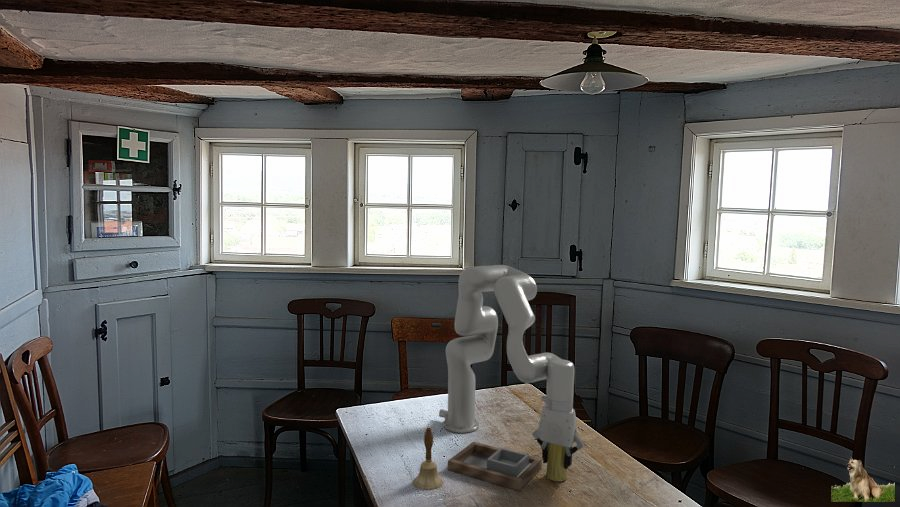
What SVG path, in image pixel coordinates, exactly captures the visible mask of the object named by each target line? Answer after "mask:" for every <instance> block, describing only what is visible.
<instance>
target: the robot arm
mask: <svg viewBox="0 0 900 507" xmlns="http://www.w3.org/2000/svg"><path fill="white" fill-rule="evenodd" d="M457 282H458V283H457V284H458V298H457V303H456V310H455V316H454V331H455V332H456V334H457V335H459V336H461V337H455V338H453V339H452V340H450V341H449V342H448V343H447V345H446V347H445V357H446V363H447V371H448V372H447V373H448V374H447V376H448V378H447V386H448V387H447V409H441V408H440V410H439V413H438V417H440V418H444V421H443V422H442V425H443V428H444V429H446V430H447V431H449V432H452V433H460V434H464V433H471V432H474V431H476V430H478V429H479V427H480V422H479V421H478V419H475V418H476V414H475V413H476V375H475V372H474V371H473V369H472V367H471V365H473V364H476V363H477V364H478V363H480V362H485V361H489V360H490V359H491V357H492V356H493V355H494V350H495V346H496V339H497V333H498V329H499V318H498V314H497V312H496V311H495V309H493V308H492V307H491V306H488V305H487V306H486V305H484V304H483V303H484V296H483V293H484V292H485V293H486V292H493V293H494V295H495V298H496V301H497V303H498V305H499V307H500V310H501V312H502V313H503V316H504V319H505V321H506V323H507V325H508V334H507V338H506V355H507V359H508V361H509V364H510V365H511V367H512V368H511V369H512V371H513V373H514V374H515V376H516V377H517V379H518V380H520V381H521V382H523V383H525V384H531V383H535V382H539V381H545V380H546V393H545V394H546V395H541V401H542V402H544V405H543V406H542V408H541V413H540V418H539V425H538V428H537V429H535V430H534V431H533V432H532V436H533V437H534V438H535V439H537V442H536V443H538V444H539V446H540V449H542V452H541V453H542V454H541V458H542V459H543V460H542V462H543V463H542V464H547V458H548V443H551V444H555V445H558V446H562V447H565V450H566V455H565V461H564V468H565V469H567V470H568V469H569V467H571V466H572V464H573V455H574V454H575V453H576V452H578V451H579V450H581V449H583V448H584V446H585V444H584V442H583V440H581V438H580V436H579V434H578V433H577V432H578V427H577V416H576V410H575V409H574V390H575V389H574V388H575V386H574V385H575V365H574V363H573V362H572V361H570V360H566V359H562V358H561V357H559V356H558V355H556V354H554V353H551V352H542V353H535V354H531V355H528V353H527V351H526V349H525V346H524V342H523V337H524V333H525V331H526V330H527V329H529V328H530V327H531V326H532V325H533V324H534V323H535V321H536V316H535V314H534V312H533V308H531V305H530V304H529V303H530V302H529V301H532V300H533V299H535V297H536V295H537V294H538V293H537V292H538V287H537V284H536V282H535V279H533V277H531V275H529V274H527V273H525V272H523V271H521V270H519V269H517V268H514V267H512V266H510V265H505V264H494V265H478V266H471V267H467V268H465V269H463V270H462V271H461V273H460V274H459V277H458V281H457ZM535 439H534V440H535ZM574 443H575V444H576V445H574Z"/></svg>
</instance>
